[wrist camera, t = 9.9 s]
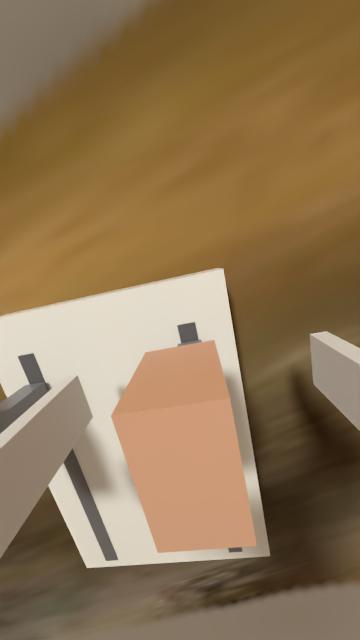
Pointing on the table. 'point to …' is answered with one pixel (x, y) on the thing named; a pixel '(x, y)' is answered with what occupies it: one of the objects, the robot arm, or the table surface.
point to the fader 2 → (185, 450)
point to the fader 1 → (20, 403)
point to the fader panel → (105, 392)
